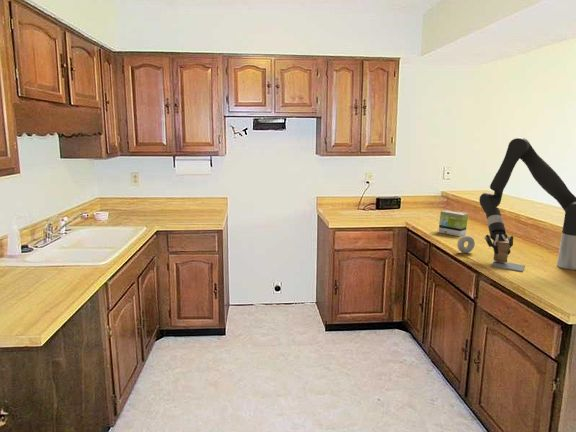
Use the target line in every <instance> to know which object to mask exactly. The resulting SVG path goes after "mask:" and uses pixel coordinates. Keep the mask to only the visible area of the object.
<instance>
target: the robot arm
mask: <svg viewBox="0 0 576 432" xmlns="http://www.w3.org/2000/svg"><path fill="white" fill-rule="evenodd" d="M519 160H521V161H522V162H523V163H524V165H525V166H526V167H527V169H528V170H529V172H530V175H531V176H532V177H533V179H534V180H535V182H537V184H538V185H539V186H540V187H541V188H542V189H543V190H544V191H545V192H546V193H547V194H548V195H550V196H551V197H553V199H555V200H556V201H557V203H558V204H559V205H560V206H561V207H560V208H562V209H563V211H564V212H565V213H564V219H563V224H562V225H563V226H562V232H561V238H560V244H559V250H558V257H557V263H556V267H559V268H561V269H565V270H571V271H572V270H573V271H574V270H575V271H576V195H574V194H573V193H572V191H570V189H569V188H568V186H567V185H566V184H565V182H564V180H562V178H561V177H560V176H559V174H558V173H557V172H556V171H555V170H554V169H553V168H552V167H551V165H550V164H548V163H547V162H546V161H545V160H544V159H543V158H542V157H541V156H539V154H538V153H537V152H536V150H535V149H534V148H533V147H532V145H531V143H530V142H529V140H528V139H527V138H525V137H522V136H521V137H515V138H513V139H512V140H510V141H509V142H508V145H507V149H506V152H505V155H504V158H503V160H502V163H501V164H500V167H499V168H498V170H497V172H496V173H495V176H494V177H493V178H492V181H491V183H490V184H489V189H491V191H493V193H488V192H483V193H482V194H481V195H480V196H479V199H478V200H479V201H478V202H479V205H480V206H481V208H482V210H483V212H484V213H485V216H486V220H487V221H486V222H487V228H488V231H489V234H486V235H485V236H484V240H485V242H486V243H487V245H488V247H489V248H492V249H493V254H494V253H495V254H498V253H499V251H498V248H497V243H496V241H505V242H508V243H509V250H508V256H509V255H510V254H511V248H512V247H513V246H514V236H513V235H511V236H509V235H508V234H507V232H506V227H505V224H504V219H503V217H502V214H501V210H500V208H498V207H499V206H500V204H501V201H502V198H503V193H504V189H505V188H506V186H507V184H508V182H509V180H510V178H511V175H512V173H513V170H514V168H515V167H516V165H517V163H518V161H519Z"/></svg>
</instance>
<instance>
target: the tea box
mask: <svg viewBox="0 0 576 432" xmlns="http://www.w3.org/2000/svg"><path fill="white" fill-rule="evenodd" d="M468 218H469V213H468V212H461V211H455V210H448V209H446V210H441V211H440V215H439V226H438V233H439V234H441V233H442V234H446V235H451V236H456V237H459V236H460V237H463V236H466V235H467V234H466V232H467V227H468Z"/></svg>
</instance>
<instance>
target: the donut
mask: <svg viewBox="0 0 576 432" xmlns="http://www.w3.org/2000/svg"><path fill="white" fill-rule="evenodd" d="M466 242H467V246H465V243H466ZM475 243H476V242H475V239H474V238H473V237H472V236H470V235H467V234H465V235H463V236H460V237H459V239H458V241H457V244H456V245H457V248H458V251H459V252H461V253H463V254H469V253H470V252H472V251H473V250H474V248H475V246H476V245H475Z"/></svg>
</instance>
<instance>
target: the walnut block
mask: <svg viewBox="0 0 576 432" xmlns="http://www.w3.org/2000/svg"><path fill="white" fill-rule="evenodd" d="M496 243H497V248H498V251H499V253H498V254H495V253H494V252H493V259H492V260H493V261H494V260H495V261H496V262H508V257H509V255H508V250H509V241H508V242H505V241H496Z"/></svg>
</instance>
